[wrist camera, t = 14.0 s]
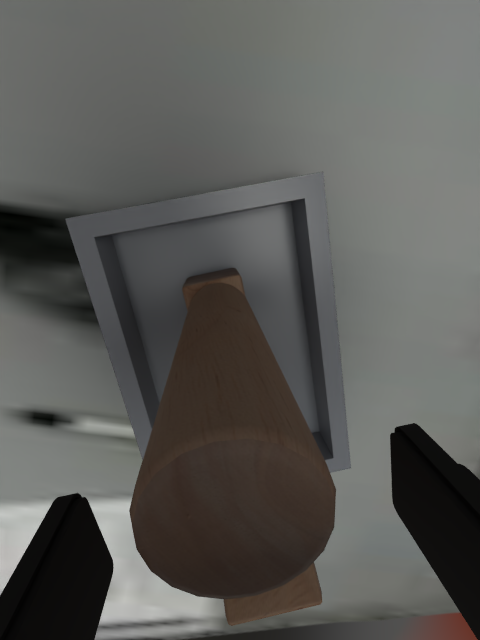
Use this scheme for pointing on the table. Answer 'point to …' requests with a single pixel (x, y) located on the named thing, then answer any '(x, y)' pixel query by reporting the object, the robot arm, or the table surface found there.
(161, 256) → the tray
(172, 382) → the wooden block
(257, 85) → the table surface
